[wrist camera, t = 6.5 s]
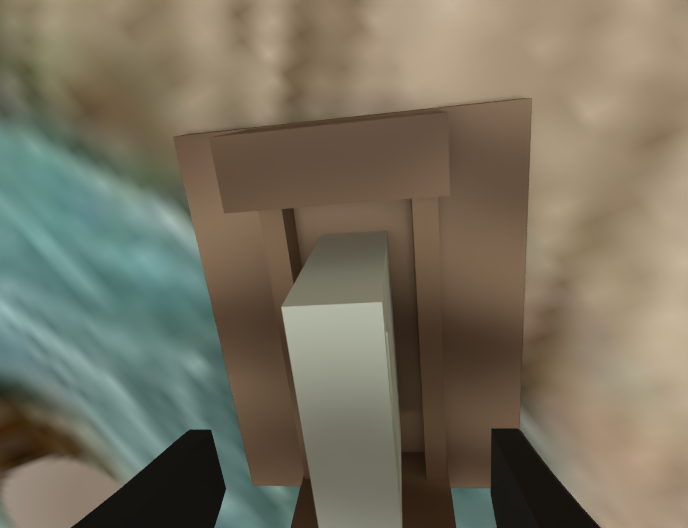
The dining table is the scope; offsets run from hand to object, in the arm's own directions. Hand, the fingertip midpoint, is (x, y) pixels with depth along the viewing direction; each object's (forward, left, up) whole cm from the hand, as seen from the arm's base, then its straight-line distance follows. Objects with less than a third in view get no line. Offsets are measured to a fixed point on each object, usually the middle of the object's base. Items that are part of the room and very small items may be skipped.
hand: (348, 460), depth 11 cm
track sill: (0, 0, -8) cm, 8 cm away
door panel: (0, 0, -7) cm, 7 cm away
